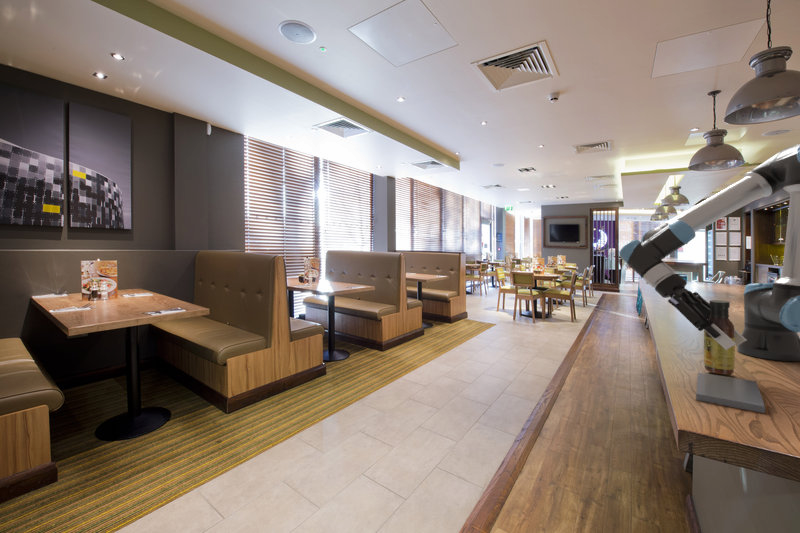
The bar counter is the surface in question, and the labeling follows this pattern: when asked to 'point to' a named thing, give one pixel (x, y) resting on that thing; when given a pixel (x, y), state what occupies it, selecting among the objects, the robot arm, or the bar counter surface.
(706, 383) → the gray rectangular mat
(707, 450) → the bar counter surface
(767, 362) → the bar counter surface
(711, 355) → the sauce bottle
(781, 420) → the bar counter surface
